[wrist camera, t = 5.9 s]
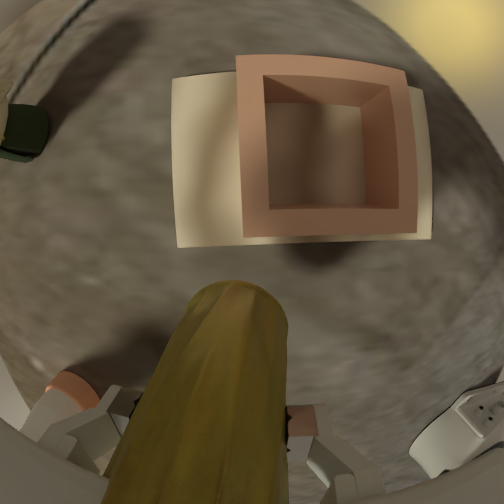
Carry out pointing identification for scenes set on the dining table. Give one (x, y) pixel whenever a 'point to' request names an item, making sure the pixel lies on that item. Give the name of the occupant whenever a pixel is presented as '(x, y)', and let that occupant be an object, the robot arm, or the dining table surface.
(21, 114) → the character mug
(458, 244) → the dining table surface
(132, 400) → the robot arm
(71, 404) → the pepper shaker
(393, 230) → the pink open box
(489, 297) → the dining table surface
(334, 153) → the board
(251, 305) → the vase
